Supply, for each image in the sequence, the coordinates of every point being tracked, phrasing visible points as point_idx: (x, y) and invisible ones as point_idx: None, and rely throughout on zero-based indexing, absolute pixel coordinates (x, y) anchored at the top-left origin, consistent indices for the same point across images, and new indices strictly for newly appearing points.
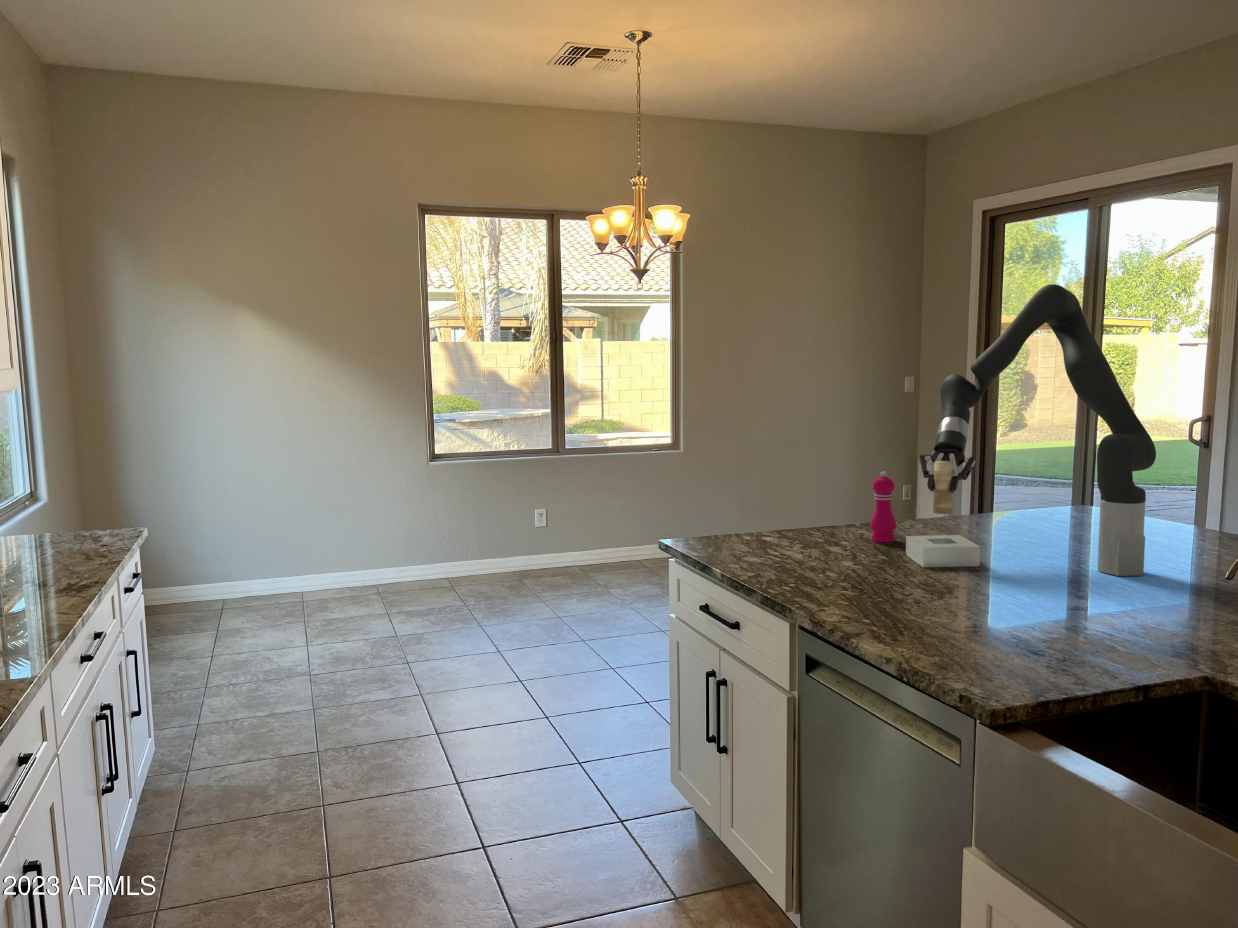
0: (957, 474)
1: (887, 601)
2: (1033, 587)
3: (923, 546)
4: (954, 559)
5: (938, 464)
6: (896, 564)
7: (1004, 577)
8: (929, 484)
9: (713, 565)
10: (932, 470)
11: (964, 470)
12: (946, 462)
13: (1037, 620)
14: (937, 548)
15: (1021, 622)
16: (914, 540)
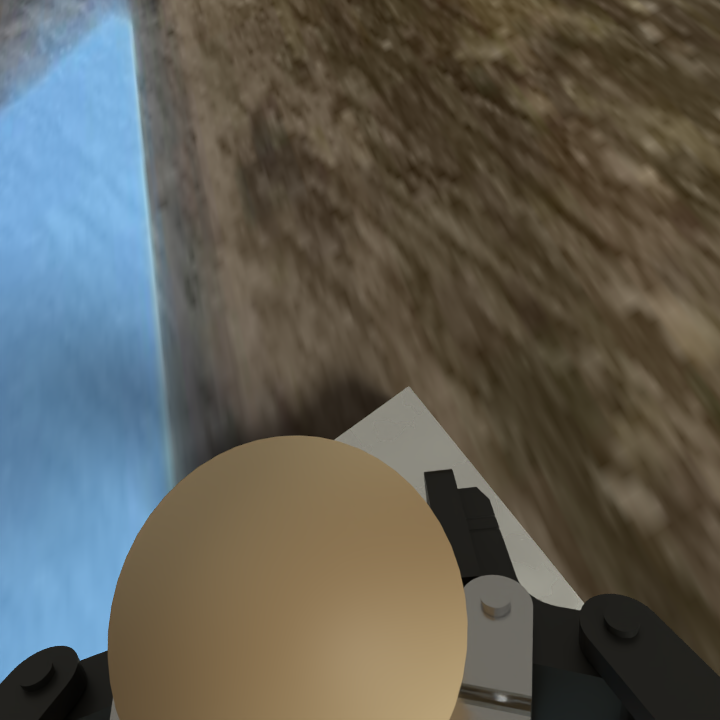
0: None
1: (363, 40)
2: (35, 341)
3: (417, 411)
4: None
5: (337, 445)
6: (516, 405)
7: (121, 418)
8: (464, 501)
9: None
10: (500, 648)
11: (5, 717)
12: (215, 572)
13: (38, 87)
14: (357, 424)
15: (69, 61)
16: (507, 523)
